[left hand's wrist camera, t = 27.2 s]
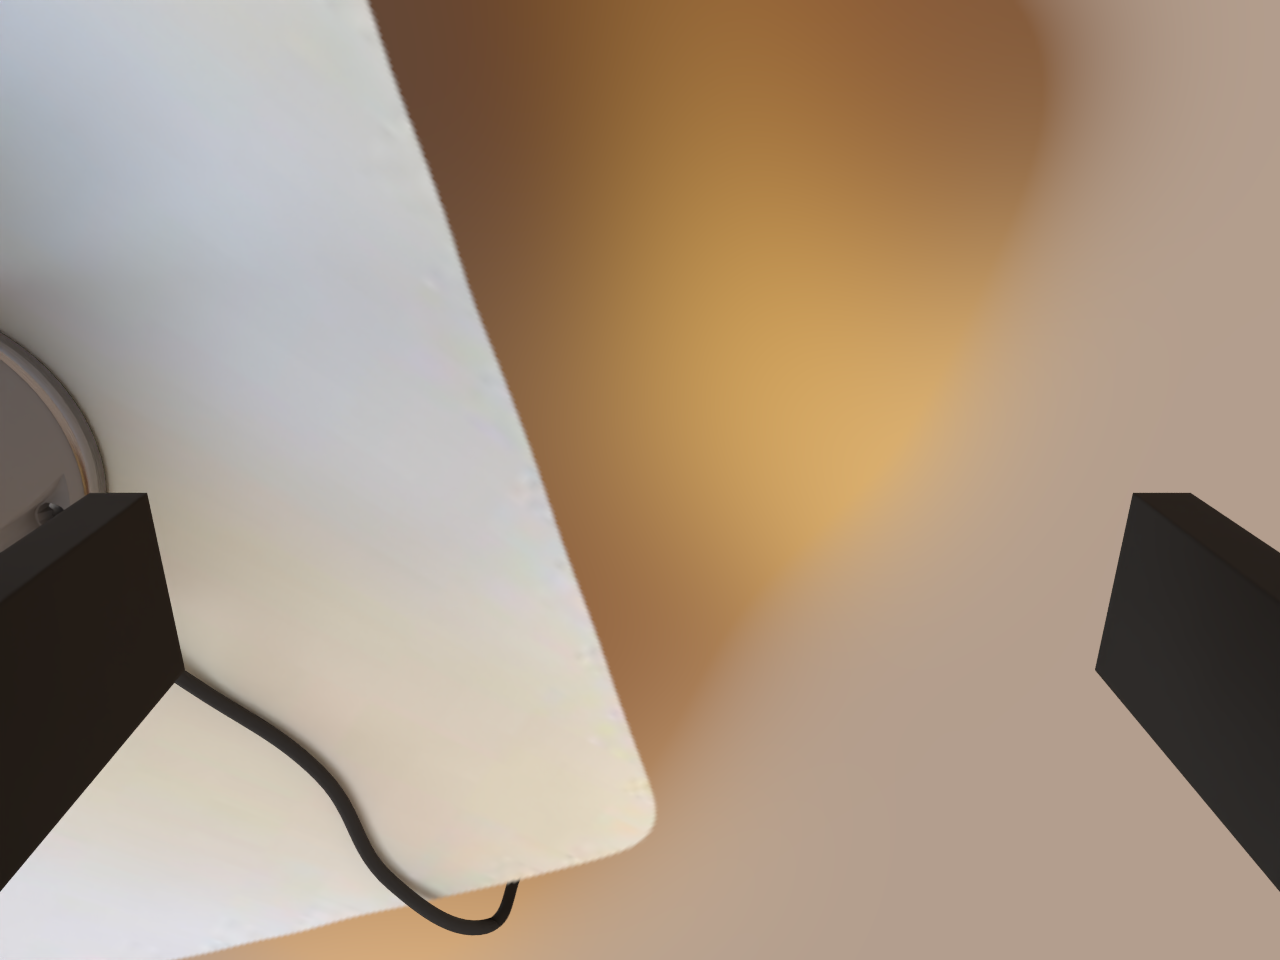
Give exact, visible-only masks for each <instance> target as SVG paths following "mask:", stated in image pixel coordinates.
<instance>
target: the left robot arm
mask: <svg viewBox="0 0 1280 960" xmlns="http://www.w3.org/2000/svg"><path fill="white" fill-rule="evenodd" d="M1095 670H1096V672H1097V673H1098V674H1099V675H1100V676H1101V678H1102V679H1103V680H1104V681H1105V682H1106V684H1107V685H1108V686H1109V687H1110V688H1111V690H1112V691H1113V692H1114V693H1115V694H1116V696H1117V697H1118V698H1119V699H1120V700H1121V702H1122V703H1123V704H1124V705H1125V706H1126V708H1127V709H1128V710H1129V711H1130V712H1131V714H1132V715H1133V716H1134V717H1135V718H1136V720H1137V721H1138V722H1139V723H1140V724H1141V726H1142V727H1143V728H1144V729H1145V730H1146V732H1147V733H1148V734H1149V735H1150V736H1151V738H1152V739H1153V740H1154V741H1155V742H1156V744H1157V745H1158V746H1159V747H1160V748H1161V750H1162V751H1163V752H1164V753H1165V754H1166V756H1167V757H1168V758H1169V759H1170V760H1171V762H1172V763H1173V764H1174V765H1175V766H1176V768H1177V769H1178V770H1179V771H1180V772H1181V774H1182V775H1183V776H1184V777H1185V778H1186V780H1187V781H1188V782H1189V783H1190V784H1191V786H1192V787H1193V788H1194V789H1195V790H1196V792H1197V793H1198V794H1199V795H1200V796H1201V798H1202V799H1203V800H1204V801H1205V802H1206V804H1207V805H1208V806H1209V807H1210V808H1211V810H1212V811H1213V812H1214V813H1215V814H1216V816H1217V817H1218V818H1219V819H1220V820H1221V822H1222V823H1223V824H1224V825H1225V826H1226V828H1227V829H1228V830H1229V831H1230V832H1231V834H1232V835H1233V836H1234V837H1235V838H1236V840H1237V841H1238V842H1239V843H1240V844H1241V846H1242V847H1243V848H1244V849H1245V850H1246V852H1247V853H1248V854H1249V855H1250V856H1251V858H1252V859H1253V860H1254V861H1255V862H1256V864H1257V865H1258V866H1259V867H1260V868H1261V870H1262V871H1263V872H1264V873H1265V874H1266V876H1267V877H1268V878H1269V879H1270V880H1271V882H1272V883H1273V884H1274V885H1275V886H1276V888H1277V889H1278V890H1279V891H1280V553H1279V552H1278V551H1276V550H1275V549H1273V548H1272V547H1270V546H1269V545H1267V544H1266V543H1264V542H1263V541H1261V540H1260V539H1258V538H1257V537H1255V536H1254V535H1252V534H1251V533H1249V532H1248V531H1246V530H1245V529H1244V528H1242V527H1241V526H1239V525H1238V524H1236V523H1235V522H1233V521H1232V520H1230V519H1229V518H1227V517H1226V516H1224V515H1223V514H1221V513H1220V512H1218V511H1217V510H1215V509H1214V508H1212V507H1211V506H1209V505H1208V504H1206V503H1205V502H1203V501H1202V500H1200V499H1199V498H1197V497H1196V496H1194V495H1193V494H1191V493H1133V496H1132V500H1131V505H1130V509H1129V514H1128V519H1127V523H1126V528H1125V533H1124V537H1123V542H1122V547H1121V551H1120V556H1119V561H1118V565H1117V570H1116V575H1115V579H1114V584H1113V589H1112V593H1111V598H1110V603H1109V607H1108V612H1107V617H1106V621H1105V626H1104V631H1103V635H1102V640H1101V645H1100V649H1099V654H1098V659H1097V664H1096V668H1095ZM174 683H176V684H177V685H179V686H180V687H182V688H183V689H185V690H187V691H188V692H190V693H191V694H193V695H194V696H196V697H197V698H199V699H200V700H202V701H203V702H205V703H207V704H208V705H210V706H212V707H213V708H215V709H216V710H218V711H220V712H221V713H223V714H225V715H226V716H228V717H230V718H231V719H233V720H235V721H236V722H238V723H239V724H241V725H243V726H244V727H246V728H248V729H249V730H251V731H253V732H254V733H256V734H257V735H259V736H260V737H262V738H264V739H265V740H267V741H268V742H270V743H271V744H273V745H274V746H275V747H277V748H278V749H280V750H281V751H282V752H284V753H285V754H286V755H288V756H289V757H290V758H291V759H293V760H294V761H295V762H296V763H297V764H299V765H300V766H301V767H302V768H303V769H304V770H305V771H306V772H308V773H309V774H310V775H311V776H312V777H313V778H314V779H315V780H316V781H317V782H318V784H319V785H320V786H321V787H322V788H323V789H324V790H325V792H326V793H327V794H328V796H329V797H330V798H331V800H332V801H333V803H334V805H335V806H336V808H337V810H338V812H339V814H340V815H341V817H342V820H343V822H344V824H345V826H346V828H347V830H348V832H349V835H350V837H351V839H352V841H353V843H354V845H355V847H356V849H357V851H358V853H359V854H360V856H361V858H362V859H363V861H364V862H365V864H366V865H367V867H368V868H369V869H370V871H371V872H372V873H373V874H374V875H375V877H376V878H377V879H378V880H379V881H380V882H381V883H382V884H383V885H384V886H385V887H386V888H387V889H389V890H390V891H391V892H392V893H393V894H394V895H396V896H397V897H398V898H399V899H400V900H402V901H403V902H404V903H405V904H407V905H408V906H409V907H410V908H412V909H413V910H414V911H416V912H417V913H419V914H420V915H421V916H423V917H424V918H426V919H428V920H429V921H431V922H432V923H434V924H436V925H438V926H440V927H442V928H444V929H447V930H449V931H452V932H455V933H459V934H464V935H482V934H487V933H490V932H492V931H494V930H496V929H498V928H499V927H501V926H502V925H503V924H504V923H505V921H506V920H507V918H508V916H509V914H510V912H511V909H512V906H513V903H514V899H515V895H516V892H517V888H518V884H519V882H520V879H519V880H516V881H511V882H508V883H507V884H506V888H505V891H504V895H503V898H502V901H501V904H500V906H499V908H498V910H497V912H496V913H495V914H494V915H493V916H492V917H491V918H488V919H484V920H465V919H461V918H457V917H454V916H452V915H450V914H447V913H445V912H443V911H442V910H440V909H438V908H436V907H435V906H433V905H432V904H430V903H429V902H427V901H426V900H424V899H423V898H422V897H420V896H419V895H418V894H417V893H415V892H414V891H413V890H412V889H410V888H409V887H408V886H407V885H406V884H404V883H403V882H402V881H401V880H400V879H398V878H397V877H396V876H395V875H394V874H393V873H392V872H391V871H390V870H389V869H388V868H387V867H386V866H385V865H384V864H383V862H382V861H381V860H380V858H379V857H378V856H377V854H376V853H375V851H374V849H373V847H372V846H371V844H370V842H369V840H368V838H367V836H366V834H365V831H364V829H363V827H362V825H361V823H360V820H359V818H358V816H357V814H356V812H355V810H354V808H353V806H352V804H351V802H350V800H349V799H348V797H347V795H346V794H345V792H344V791H343V789H342V788H341V787H340V785H339V784H338V783H337V781H336V780H335V779H334V778H333V776H332V775H331V774H330V773H329V772H328V771H327V770H326V769H325V768H324V767H323V766H322V765H321V764H320V763H319V762H318V761H317V760H316V759H315V758H314V757H313V756H312V755H310V754H309V753H308V752H307V751H306V750H305V749H303V748H302V747H301V746H300V745H299V744H297V743H296V742H295V741H293V740H292V739H291V738H289V737H288V736H287V735H285V734H284V733H282V732H281V731H280V730H278V729H277V728H275V727H274V726H272V725H271V724H269V723H267V722H266V721H264V720H263V719H261V718H259V717H258V716H256V715H255V714H253V713H251V712H250V711H248V710H246V709H245V708H243V707H242V706H240V705H238V704H237V703H235V702H233V701H232V700H230V699H228V698H227V697H225V696H224V695H222V694H220V693H219V692H217V691H216V690H214V689H212V688H211V687H209V686H208V685H206V684H205V683H203V682H202V681H200V680H199V679H197V678H196V677H194V676H193V675H191V674H190V673H188V672H187V671H185V668H184V663H183V659H182V654H181V649H180V645H179V640H178V635H177V631H176V626H175V621H174V617H173V612H172V607H171V603H170V598H169V593H168V589H167V584H166V579H165V575H164V570H163V565H162V561H161V556H160V551H159V547H158V542H157V537H156V533H155V528H154V523H153V519H152V514H151V509H150V505H149V500H148V495H147V493H106V481H105V472H104V468H103V463H102V459H101V455H100V452H99V449H98V446H97V443H96V440H95V438H94V436H93V434H92V431H91V429H90V427H89V425H88V423H87V421H86V419H85V417H84V416H83V414H82V412H81V410H80V409H79V407H78V406H77V404H76V403H75V401H74V400H73V398H72V397H71V396H70V394H69V393H68V392H67V390H66V389H65V388H64V387H63V385H62V384H61V383H60V382H59V381H58V380H57V379H56V377H55V376H54V375H53V374H52V373H51V372H50V371H49V370H48V369H47V368H46V367H45V366H44V365H43V364H42V363H41V362H40V361H39V360H37V359H36V358H35V357H34V356H33V355H32V354H30V353H29V352H28V351H27V350H25V349H24V348H23V347H22V346H20V345H19V344H17V343H16V342H14V341H13V340H11V339H10V338H9V337H7V336H6V335H4V334H2V333H0V891H1V890H2V889H3V888H4V886H5V885H6V884H7V883H8V882H9V880H10V879H11V878H12V877H13V876H14V874H15V873H16V872H17V871H18V870H19V868H20V867H21V866H22V865H23V864H24V862H25V861H26V860H27V859H28V858H29V856H30V855H31V854H32V853H33V852H34V850H35V849H36V848H37V847H38V846H39V844H40V843H41V842H42V841H43V840H44V838H45V837H46V836H47V835H48V834H49V832H50V831H51V830H52V829H53V828H54V826H55V825H56V824H57V823H58V822H59V820H60V819H61V818H62V817H63V816H64V814H65V813H66V812H67V811H68V810H69V808H70V807H71V806H72V805H73V804H74V802H75V801H76V800H77V799H78V798H79V796H80V795H81V794H82V793H83V792H84V790H85V789H86V788H87V787H88V786H89V784H90V783H91V782H92V781H93V780H94V778H95V777H96V776H97V775H98V774H99V772H100V771H101V770H102V769H103V768H104V766H105V765H106V764H107V763H108V762H109V760H110V759H111V758H112V757H113V756H114V754H115V753H116V752H117V751H118V750H119V748H120V747H121V746H122V745H123V744H124V742H125V741H126V740H127V739H128V738H129V736H130V735H131V734H132V733H133V732H134V730H135V729H136V728H137V727H138V726H139V724H140V723H141V722H142V721H143V720H144V718H145V717H146V716H147V715H148V714H149V712H150V711H151V710H152V709H153V708H154V706H155V705H156V704H157V703H158V702H159V700H160V699H161V698H162V697H163V696H164V694H165V693H166V692H167V691H168V690H169V688H170V687H171V686H172V685H173V684H174Z"/></svg>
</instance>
